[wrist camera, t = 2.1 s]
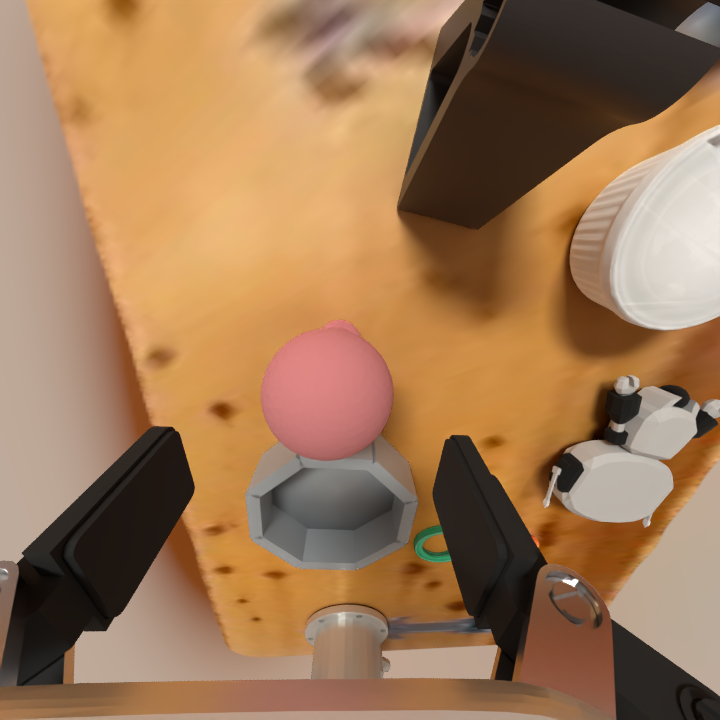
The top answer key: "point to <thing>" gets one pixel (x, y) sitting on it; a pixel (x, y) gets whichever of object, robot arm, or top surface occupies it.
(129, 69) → the top surface
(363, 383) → the light bulb
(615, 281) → the ramekin
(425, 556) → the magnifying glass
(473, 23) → the phone stand
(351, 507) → the ceramic bowl
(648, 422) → the robot toy
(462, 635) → the top surface
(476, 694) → the robot arm
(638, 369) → the top surface
